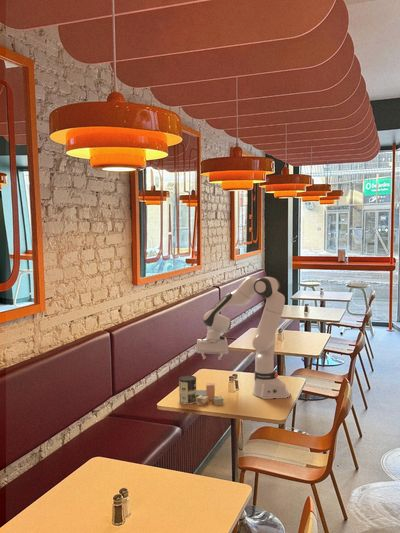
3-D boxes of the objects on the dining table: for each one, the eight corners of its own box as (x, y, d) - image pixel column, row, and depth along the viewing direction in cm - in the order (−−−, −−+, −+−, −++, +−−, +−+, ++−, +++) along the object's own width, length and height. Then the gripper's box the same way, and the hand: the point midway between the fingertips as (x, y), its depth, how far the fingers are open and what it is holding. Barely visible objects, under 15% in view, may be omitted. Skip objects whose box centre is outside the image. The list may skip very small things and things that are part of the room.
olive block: (221, 401, 289) (221, 396, 289) (223, 404, 284) (223, 398, 284) (213, 402, 288) (213, 396, 288) (214, 405, 283) (214, 399, 283)
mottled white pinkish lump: (208, 402, 287) (208, 396, 287) (204, 405, 283) (204, 399, 282) (200, 401, 289) (200, 395, 289) (196, 404, 285) (196, 397, 285)
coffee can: (196, 398, 295) (196, 375, 294) (196, 404, 285) (196, 380, 284) (179, 398, 295) (179, 375, 294) (178, 404, 285) (178, 380, 284)
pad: (210, 391, 306) (210, 390, 306) (208, 396, 297) (208, 395, 297) (195, 391, 307) (195, 390, 307) (193, 396, 298) (193, 395, 298)
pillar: (214, 397, 296) (214, 382, 295) (214, 400, 291) (213, 385, 290) (207, 397, 296) (207, 382, 295) (206, 400, 292) (206, 385, 291)
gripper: (196, 336, 312) (194, 355, 303) (228, 337, 310) (227, 357, 301) (197, 341, 317) (195, 360, 308) (229, 343, 314) (228, 362, 306)
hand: (211, 359), depth 304 cm, fingers open, 8 cm apart
